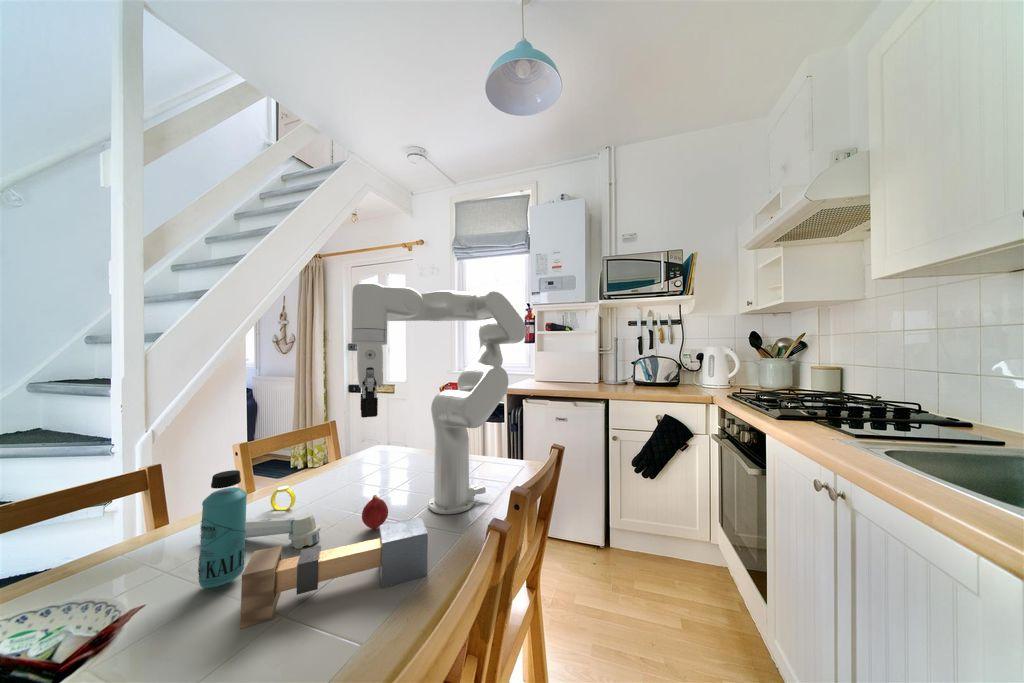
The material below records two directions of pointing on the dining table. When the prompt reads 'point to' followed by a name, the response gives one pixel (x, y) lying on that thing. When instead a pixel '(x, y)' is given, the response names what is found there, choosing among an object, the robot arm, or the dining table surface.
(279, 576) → the banded wooden beam
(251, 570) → the socket
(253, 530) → the white long handled piece
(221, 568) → the beverage bottle
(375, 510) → the onion
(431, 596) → the dining table surface
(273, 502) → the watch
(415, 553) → the sleeve
